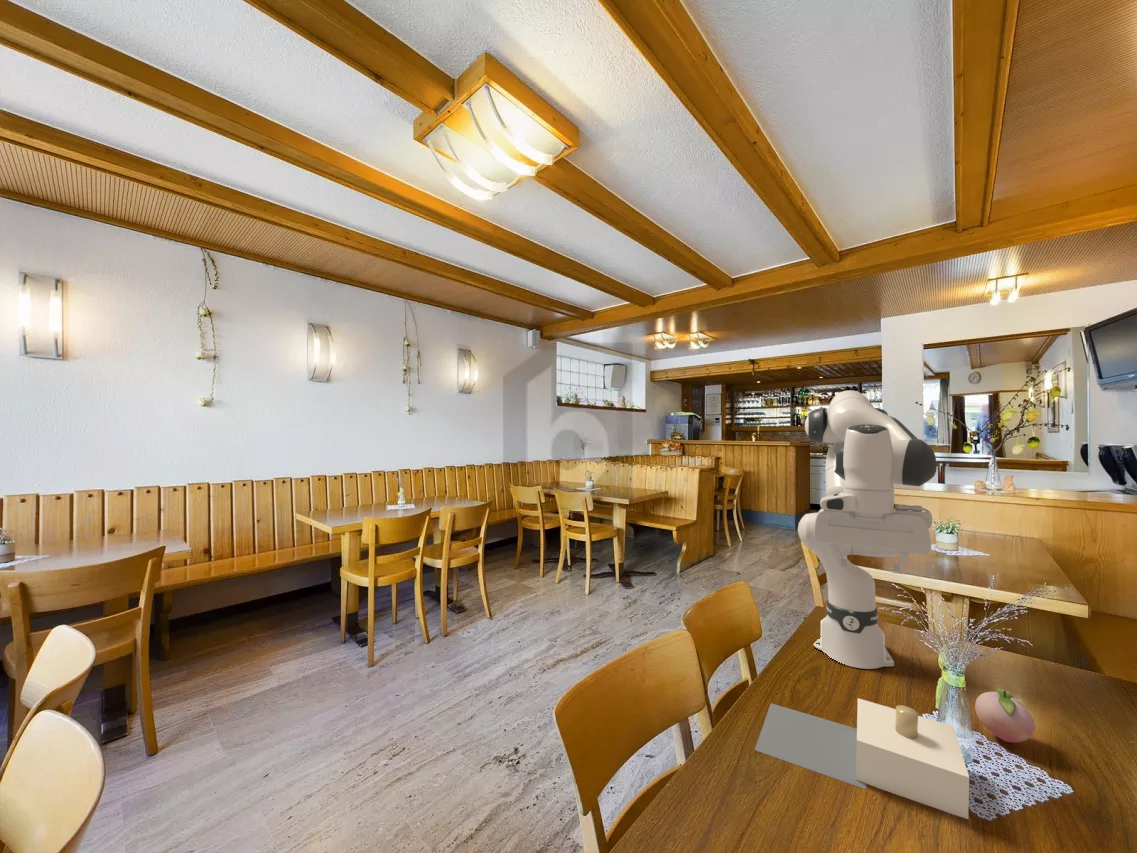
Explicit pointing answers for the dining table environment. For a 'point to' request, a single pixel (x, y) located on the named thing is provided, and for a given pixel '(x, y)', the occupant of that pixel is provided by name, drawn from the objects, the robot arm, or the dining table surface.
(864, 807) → the dining table surface
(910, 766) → the cover
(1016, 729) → the decorative fruit
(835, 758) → the mat
